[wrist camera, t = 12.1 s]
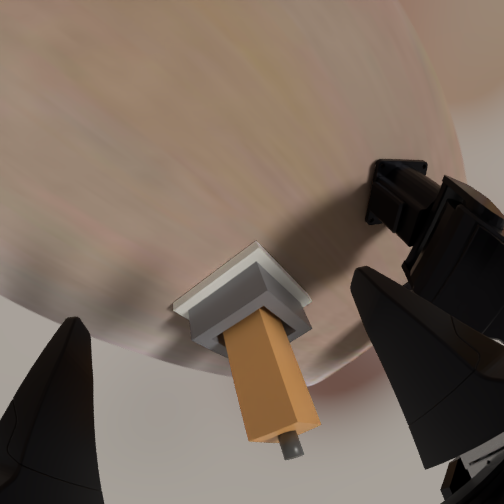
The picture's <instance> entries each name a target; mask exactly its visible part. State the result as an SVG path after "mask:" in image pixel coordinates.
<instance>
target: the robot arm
mask: <svg viewBox="0 0 504 504" xmlns="http://www.w3.org/2000/svg"><path fill="white" fill-rule="evenodd" d="M381 164H382V166H381ZM427 166H428V164H427V162H425V161H423V160H402V159H379V160H378V161H377V162H376V166H375V172H374V177H373V183H372V188H371V194H370V199H369V204H368V209H367V213H366V218H365V221H366V223H367V224H369V225H374V224H381V223H383V224H385V225H386V226H387V227H388V228H389V229H390V230H391V231H392V232H393V233H396V234H397V235H398V236H399V237H400V238H401V239H402V240H403V241H404V242H405V243H406V244H407V245H408V246H409V247H411V246H413V247H412V249H411V251H410V253H409V255H408V257H407V259H406V261H404V262H403V264H402V266H401V267H402V269H403V271H404V273H405V275H406V277H407V279H408V281H409V284H410V286H411V288H412V290H413V292H412V291H410V290H408V289H407V288H405V287H403V286H402V285H400V284H398V283H397V282H395V281H393V280H391V279H390V278H388V277H386V276H384V275H383V274H381V273H379V272H377V271H376V270H374V269H372V268H370V267H369V266H363V267H358V268H356V269H355V271H354V275H353V278H352V282H351V286H350V289H351V293H352V296H353V298H354V301H355V304H356V306H357V309H358V312H359V314H360V317H361V320H362V322H363V325H364V327H365V330H366V332H367V334H368V336H369V338H370V340H371V342H372V344H373V346H374V348H375V351H376V353H377V354H378V357H379V359H380V361H381V363H382V366H383V368H384V370H385V372H386V374H387V377H388V379H389V381H390V383H391V385H392V388H393V390H394V392H395V395H396V397H397V399H398V402H399V404H400V406H401V409H402V411H403V413H404V416H405V418H406V421H407V423H408V425H409V429H410V431H411V434H412V436H413V439H414V442H415V444H416V447H417V449H418V452H419V455H420V458H421V460H422V463H423V466H424V468H425V469H429V468H431V467H434V466H437V465H439V464H442V463H444V462H446V461H449V460H450V459H453V458H455V457H456V458H455V459H454V460H453V461H451V462H450V463H449V465H448V469H447V472H446V475H445V478H444V481H443V484H442V487H441V489H440V490H441V492H442V495H443V497H444V500H445V501H444V502H442V503H441V504H504V346H503V345H501V344H500V343H498V342H496V341H494V340H492V339H495V340H499V341H501V342H502V343H503V344H504V215H503V214H502V213H501V212H500V210H499V209H498V208H497V207H496V206H495V205H494V204H493V203H492V202H491V201H490V200H489V199H488V198H487V197H486V196H484V195H483V194H481V193H480V192H478V191H477V190H475V189H474V188H472V187H471V186H469V185H467V184H465V183H463V182H460V181H458V180H456V179H453V178H451V177H449V176H446V175H444V177H443V180H442V181H443V183H442V185H441V186H440V185H439V184H437V183H436V182H434V181H433V180H431V179H430V178H428V177H427V176H425V175H426V171H427ZM370 219H371V220H370ZM91 355H92V354H91V337H90V333H89V331H88V330H87V328H86V327H85V325H84V324H83V322H82V321H81V319H80V318H79V317H68V318H67V319H66V320H65V321H64V322H63V323H62V325H61V326H60V328H59V329H58V330H57V332H56V333H55V334H54V336H53V337H52V339H51V340H50V341H49V343H48V344H47V346H46V347H45V349H44V350H43V352H42V353H41V354H40V356H39V357H38V359H37V360H36V362H35V363H34V365H33V366H32V368H31V370H30V371H29V373H28V374H27V376H26V377H25V379H24V381H23V382H22V384H21V385H20V387H19V389H18V390H17V392H16V394H15V396H14V397H13V400H12V401H11V402H10V404H9V406H8V408H7V409H6V411H5V413H4V415H3V416H2V418H1V420H0V504H104V500H103V495H102V491H101V484H100V478H99V470H98V462H97V453H96V443H95V429H94V406H93V369H92V356H91Z"/></svg>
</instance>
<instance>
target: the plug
mask: <svg viewBox="0 0 504 504" xmlns="http://www.w3.org/2000/svg"><path fill="white" fill-rule="evenodd" d="M223 335H224V340H225V344H226V349H227V354H228V358H229V363H230V367H231V371H232V376H233V380H234V384H235V389H236V393H237V397H238V401H239V405H240V409H241V413H242V417H243V421H244V425H245V429H246V433H247V437H248V440H249V441H250V442H266V443H280V446H281V449H282V452H283V455H284V459H285V460H289V459H293V458H296V457H299V456H302V455H304V452H303V449H302V447H301V444H300V441H299V438H298V435H299V434H302V433H304V432H306V431H308V430H311V429H313V428H315V427H318V426H320V425H321V422H320V420H319V417H318V415H317V412H316V409H315V407H314V404H313V402H312V399H311V397H310V394H309V391H308V389H307V386H306V384H305V381H304V379H303V376H302V373H301V371H300V368H299V366H298V363H297V361H296V358H295V355H294V353H293V350H292V348H291V345H290V343H289V340H288V338H287V335H286V332H285V330H284V327H283V325H282V322H281V320H280V318H279V317H278V316H276V315H275V314H274V313H272V312H271V311H270V310H269V309H267V308H266V307H265V306H262V307H261V308H259V309H258V310H256V311H255V312H253V313H252V314H250V315H249V316H247V317H246V318H244V319H242V320H241V321H239V322H238V323H236V324H235V325H233V326H232V327H230V328H228V329H227V330H225V331H224V332H223Z"/></svg>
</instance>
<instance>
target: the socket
mask: <svg viewBox="0 0 504 504" xmlns="http://www.w3.org/2000/svg"><path fill="white" fill-rule="evenodd" d="M311 302H312V300H311V298H310V296H309V295H308V293H307V292H306V291H305V290H304V289H303V288H302V287H301V286H300V285H299V284H298V283H297V282H296V281H295V280H294V279H293V278H292V277H291V276H290V275H289V274H288V273H287V272H286V271H285V270H284V269H283V268H282V267H281V266H280V264H279V263H278V262H277V261H276V260H275V259H274V258H273V257H272V256H271V255H270V254H269V253H268V252H267V251H266V250H265V249H264V248H263V247H262V246H261V245H260V244H259V243H258V242H257V241H255V242H253V243H252V244H251V245H249V246H248V247H247V248H245V249H244V250H243V251H241V252H240V253H239V254H237V255H236V256H235V257H233V258H232V259H231V260H229V261H228V262H227V263H225V264H224V265H223V266H221V267H220V268H219V269H217V270H216V271H215V272H213V273H212V274H211V275H209V276H208V277H207V278H205V279H204V280H203V281H201V282H200V283H199V284H197V285H196V286H195V287H193V288H192V289H191V290H189V291H188V292H187V293H186V294H184V295H183V296H182V297H180V298H179V299H178V300H176V301H175V302H174V303H173V311H175V312H176V313H178V314H180V315H181V316H183V317H185V318H186V319H188V320H189V322H190V331H191V340H192V341H194V342H196V343H198V344H200V345H202V346H204V347H205V348H208V349H210V350H212V351H214V352H216V353H218V354H220V355H222V356H224V357H226V358H228V354H227V349H226V344H225V340H224V335H223V332H224V331H225V330H227V329H228V328H230V327H232V326H233V325H235V324H236V323H238V322H239V321H241V320H242V319H244V318H246V317H247V316H249V315H250V314H252V313H253V312H255V311H256V310H258V309H259V308H261V307H262V306H265V307H266V308H267V309H269V310H270V311H271V312H272V313H274V314H275V315H276V316H278V317H279V318H280V320H281V322H282V325H283V327H284V330H285V332H286V335H287V338H288V340H289V343H290V342H292V341H293V340H295V339H297V338H298V337H300V336H301V335H303V334H305V333H306V332H308V331H309V330H311V329H312V327H311V324H310V322H309V320H308V318H307V316H306V314H305V312H304V310H303V307H305V306H306V305H308V304H309V303H311ZM228 359H229V358H228Z"/></svg>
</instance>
